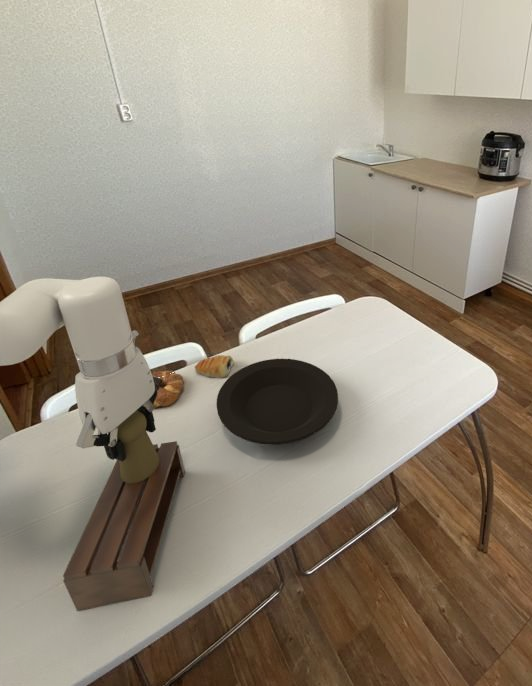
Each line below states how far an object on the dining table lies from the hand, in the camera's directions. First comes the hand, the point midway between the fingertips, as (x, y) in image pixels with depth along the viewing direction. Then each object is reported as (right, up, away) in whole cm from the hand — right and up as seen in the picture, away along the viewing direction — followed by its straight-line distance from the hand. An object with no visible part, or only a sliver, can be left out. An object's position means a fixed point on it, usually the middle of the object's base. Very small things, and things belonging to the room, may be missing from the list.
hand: (133, 442), depth 65 cm
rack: (+1, -15, 0) cm, 15 cm away
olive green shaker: (0, -6, +2) cm, 6 cm away
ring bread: (-10, -4, +29) cm, 31 cm away
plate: (+20, -6, +23) cm, 31 cm away
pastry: (0, -1, +37) cm, 37 cm away
